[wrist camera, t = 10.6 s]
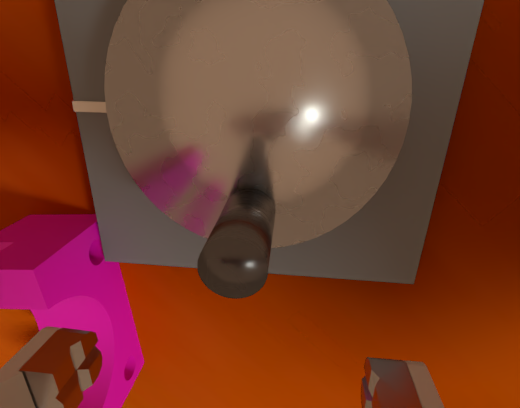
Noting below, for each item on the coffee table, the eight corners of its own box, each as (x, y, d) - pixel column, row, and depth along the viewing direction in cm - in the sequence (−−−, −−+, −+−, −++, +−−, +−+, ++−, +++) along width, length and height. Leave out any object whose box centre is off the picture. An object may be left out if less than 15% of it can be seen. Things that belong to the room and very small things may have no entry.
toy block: (31, 213, 25) (-70, 268, 18) (107, 212, 24) (33, 269, 17) (82, 357, 31) (20, 441, 24) (145, 360, 30) (100, 447, 23)
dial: (96, -62, 16) (-56, -163, 9) (434, -63, 15) (559, -183, 8) (136, 230, 22) (65, 302, 15) (375, 246, 21) (415, 334, 14)
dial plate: (500, -132, 15) (525, -156, 13) (406, 271, 23) (414, 285, 22) (50, -119, 17) (24, -139, 15) (115, 250, 25) (103, 262, 24)
